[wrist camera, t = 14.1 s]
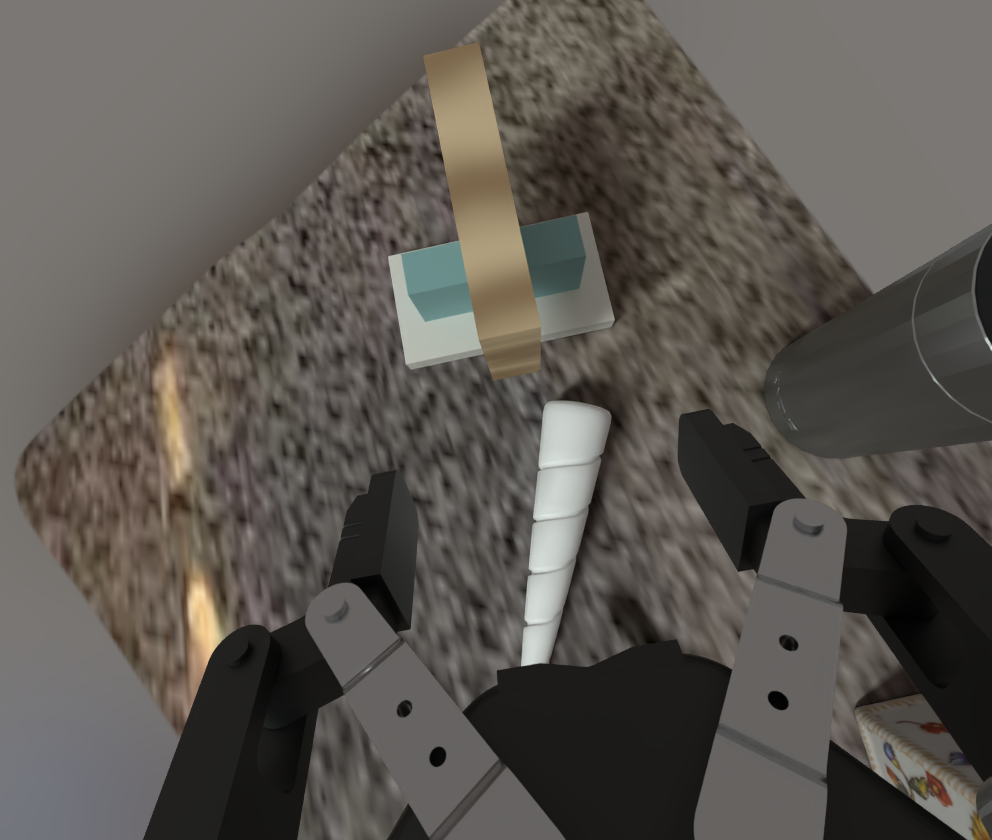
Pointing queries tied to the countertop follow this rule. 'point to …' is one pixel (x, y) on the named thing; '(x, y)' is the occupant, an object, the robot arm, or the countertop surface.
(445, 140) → the wooden beam
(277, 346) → the countertop surface
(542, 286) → the ridge stand
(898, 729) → the decorative jar
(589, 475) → the unicorn horn
